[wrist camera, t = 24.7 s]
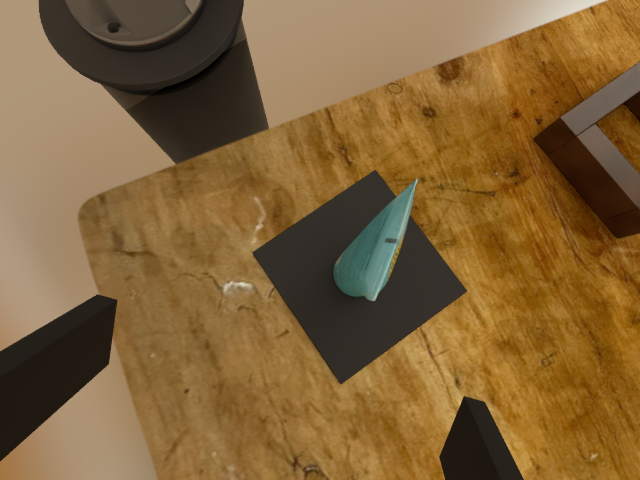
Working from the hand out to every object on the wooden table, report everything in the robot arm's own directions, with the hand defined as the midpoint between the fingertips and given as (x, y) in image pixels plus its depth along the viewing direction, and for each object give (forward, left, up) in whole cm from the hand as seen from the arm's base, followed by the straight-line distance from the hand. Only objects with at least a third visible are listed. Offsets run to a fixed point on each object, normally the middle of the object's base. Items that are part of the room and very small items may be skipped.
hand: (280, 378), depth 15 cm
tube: (-2, +8, -26) cm, 27 cm away
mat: (-2, +8, -26) cm, 28 cm away
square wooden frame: (+4, +40, -26) cm, 48 cm away
